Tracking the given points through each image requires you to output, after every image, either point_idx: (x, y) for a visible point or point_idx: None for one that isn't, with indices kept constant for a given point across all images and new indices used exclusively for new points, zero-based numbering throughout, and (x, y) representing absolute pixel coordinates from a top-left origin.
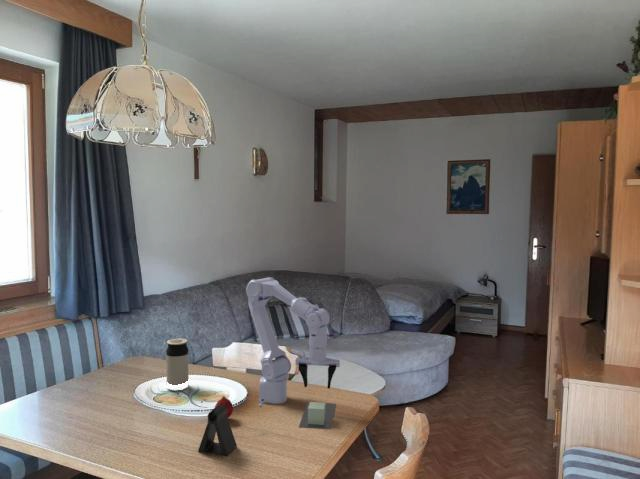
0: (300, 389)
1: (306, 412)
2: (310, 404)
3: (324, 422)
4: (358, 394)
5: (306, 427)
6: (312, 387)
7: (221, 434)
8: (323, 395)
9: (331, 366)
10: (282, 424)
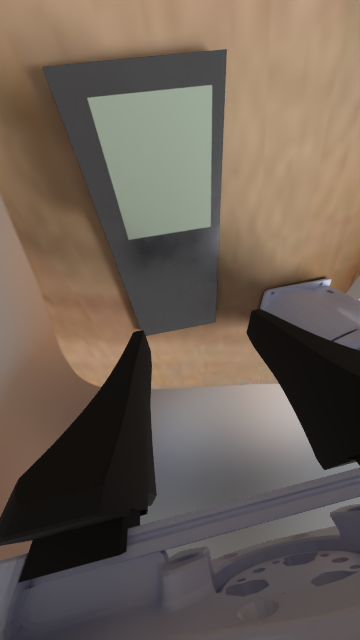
0: (232, 369)
1: (209, 258)
2: (203, 186)
3: None
4: None
5: (185, 59)
6: (212, 380)
7: None
8: (187, 364)
9: (89, 541)
10: (284, 151)
